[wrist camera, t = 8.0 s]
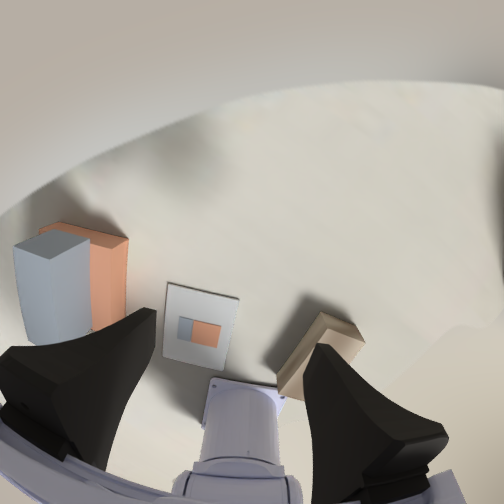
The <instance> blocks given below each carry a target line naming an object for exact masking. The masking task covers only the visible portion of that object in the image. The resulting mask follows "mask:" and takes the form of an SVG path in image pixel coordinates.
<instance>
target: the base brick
mask: <svg viewBox="0 0 504 504" xmlns="http://www.w3.org/2000/svg"><path fill="white" fill-rule="evenodd" d="M52 229H56V230H60V231H63V232H67V233H71V234H75V235H78V236H82V237H86V238H90V296H91V313H92V325H93V327H92V328H91V329H92V330H94V331H98V330H101V329H103V328H105V327H107V326H109V325H111V324H114V323H115V322H117V321H119V320H121V319H123V318H125V304H126V271H127V254H128V241H129V239H127V238H123V237H119V236H115V235H110V234H106V233H102V232H98V231H94V230H90V229H86V228H82V227H78V226H74V225H70V224H66V223H62V222H57V223H54V224H51V225H49V226H46V227H43V228H41V229H39V235H40V234H42V233H45V232H47V231H50V230H52Z"/></svg>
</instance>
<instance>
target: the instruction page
mask: <svg viewBox="0 0 504 504" xmlns="http://www.w3.org/2000/svg"><path fill="white" fill-rule="evenodd" d="M238 304H239V299H235V298H230V297H225V296H221V295H216V294H212V293H208V292H203V291H199V290H195V289H191V288H186V287H182V286H178V285H174V284H170V283H169V284H168V291H167V301H166V312H165V325H164V339H163V356H162V357H165V358H169V359H173V360H177V361H180V362H184V363H188V364H192V365H197V366H201V367H205V368H210V369H214V370H219V371H223V369H224V364H225V360H226V356H227V351H228V347H229V343H230V339H231V334H232V330H233V326H234V321H235V317H236V313H237V309H238Z"/></svg>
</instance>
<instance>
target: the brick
mask: <svg viewBox="0 0 504 504" xmlns="http://www.w3.org/2000/svg"><path fill="white" fill-rule="evenodd" d="M316 343H324V344H329V345H330V346H332V347H333V348H334V349H335V350H336V351H337V352H338V354H339V355H340V356H341V357H342V358H343V359H344V360H345V361H346V362H347V363H348V364H350V363H351V361H352V360H353V359H354V358H355V356H356V355H357V354H358V352H359V351H360V350H361V349H362V347H363V346H364V345H365V341H364V339H363V337H362V335H361V334H360V332H359V330H358V328H357V327H356V326H355V325H352V324H350V323H348V322H345V321H343V320H340V319H338V318H336V317H333V316H331V315H328V314H326V313H324V312H321V311H320V313H319V314H318V316H317V318H316V319H315V321H314V322H313V324H312V325H311V327H310V328H309V330H308V331H307V332H306V334H305V335H304V337H303V338H302V340H301V341H300V343H299V344H298V346H297V347H296V348H295V350H294V351H293V353H292V354H291V355H290V357H289V358H288V360H287V361H286V362H285V364H284V365H283V366H282V368H281V369H280V371H279V372H278V373H277V375H276V376H277V388H278V394H279V395H283V396H286V397H290V398H293V399H297V400H301V401H305V399H304V394H303V373H304V371H305V369H306V366H307V364H308V362H309V359H310V357H311V355H312V352H313V350H314V348H315V345H316Z"/></svg>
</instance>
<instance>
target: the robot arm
mask: <svg viewBox="0 0 504 504" xmlns="http://www.w3.org/2000/svg"><path fill="white" fill-rule="evenodd" d="M156 313H157V311H156V310H153V309H149V308H145V307H143V308H141V309H139V310H138V311H136V312H134V313H132V314H130V315H129V316H127V317H125V318H123V319H121V320H119V321H117V322H115V323H114V324H111V325H109V326H107V327H105V328H103V329H101V330H98V331H96V332H94V333H91V334H88V335H86V336H83V337H80V338H76V339H73V340H68V341H64V342H60V343H55V344H48V345H39V346H11V347H10V348H9V349H8V350H7V351H5V352H4V353H3V354H2V355H1V356H0V390H1V392H2V394H3V396H4V398H5V399H6V401H7V402H6V403H5V404H4V406H2V405H1V403H0V475H1V476H3V477H4V478H5V479H6V480H7V481H9V482H10V483H11V484H13V485H14V486H15V487H17V488H18V489H19V490H20V491H22V492H23V493H25V494H26V495H27V496H29V497H30V498H32V499H33V500H34V501H36V502H37V503H39V504H303V495H302V489H301V485H300V483H299V481H298V480H297V479H295V478H294V477H293V476H292V475H285V473H284V466H282V465H280V454H279V437H278V421H277V418H278V416H279V414H280V412H281V410H282V408H283V406H284V403H285V401H286V399H287V397H286V396H283V395H279V394H278V388H274V387H267V386H260V385H254V384H248V383H242V382H236V381H231V380H226V379H221V378H216V377H214V378H211V380H210V385H209V390H208V395H207V400H206V405H205V410H204V415H203V421H202V426H201V428H202V429H203V430H205V432H204V437H203V443H202V448H201V454H200V459H199V462H194V465H193V470H192V471H189V470H185V471H184V472H182V474H180V475H179V476H178V477H177V478H176V480H175V482H174V484H173V488H172V492H171V493H168V492H164V491H160V490H157V489H153V488H150V487H146V486H143V485H140V484H137V483H134V482H131V481H128V480H125V479H123V478H120V477H117V476H115V475H112V474H110V473H107V472H105V471H106V467H107V462H108V458H109V454H110V451H111V447H112V444H113V441H114V437H115V434H116V431H117V428H118V425H119V422H120V420H121V417H122V414H123V412H124V409H125V406H126V404H127V402H128V400H129V398H130V396H131V394H132V393H133V391H134V389H135V387H136V385H137V383H138V382H139V380H140V378H141V376H142V374H143V373H144V371H145V369H146V367H147V365H148V363H149V361H150V358H151V356H152V353H153V351H154V348H155V334H156ZM214 385H216V386H214ZM303 394H304V399H305V405H306V410H307V415H308V420H309V425H310V430H311V437H312V450H313V486H312V487H313V488H312V499H311V504H466V502H465V499H464V497H463V494H462V492H461V490H460V488H459V485H458V483H457V481H456V479H455V477H454V474H453V472H452V470H451V469H449V470H446V471H444V472H441V473H438V474H436V475H433V476H432V477H430V478H428V479H427V477H426V473H428V472H429V468H428V466H427V464H428V463H429V462H431V461H432V460H433V459H434V458H435V457H436V456H437V455H438V454H439V453H440V452H441V451H442V450H443V449H444V448H445V446H446V445H447V443H448V440H449V437H448V435H447V433H446V431H445V429H444V427H443V426H442V424H441V423H438V422H435V421H432V420H429V419H426V418H423V417H421V416H419V415H417V414H414V413H412V412H410V411H408V410H406V409H404V408H403V407H401V406H399V405H397V404H396V403H394V402H392V401H391V400H389V399H388V398H386V397H385V396H384V395H382V394H381V393H380V392H378V391H377V390H376V389H374V388H373V387H372V386H371V385H370V384H369V383H367V382H366V381H365V380H364V379H363V378H362V377H361V376H360V375H359V374H358V373H357V372H356V371H355V370H354V369H353V368H352V367H351V366H350V365H349V364H348V363H347V362H346V361H345V360H344V359H343V358H342V357H341V356H340V355H339V354H338V352H337V351H336V350H335V349H334V348H333V347H332V346H330V345H329V344H324V343H316V345H315V348H314V350H313V352H312V355H311V357H310V359H309V362H308V364H307V366H306V369H305V371H304V373H303Z"/></svg>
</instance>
